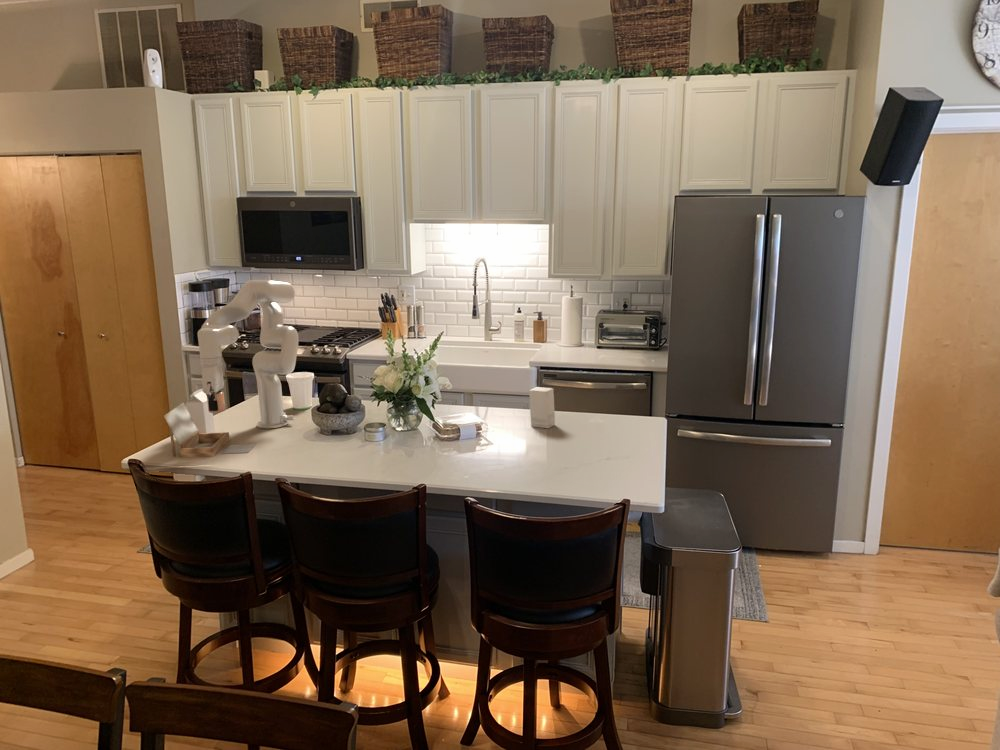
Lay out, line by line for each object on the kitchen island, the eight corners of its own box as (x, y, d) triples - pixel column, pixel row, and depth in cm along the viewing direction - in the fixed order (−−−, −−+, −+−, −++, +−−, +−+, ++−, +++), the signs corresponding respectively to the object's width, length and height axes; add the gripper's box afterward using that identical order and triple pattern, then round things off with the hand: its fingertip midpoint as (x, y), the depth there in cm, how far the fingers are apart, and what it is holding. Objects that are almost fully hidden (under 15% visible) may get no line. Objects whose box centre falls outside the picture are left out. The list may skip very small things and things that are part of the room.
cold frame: (229, 440, 298) (225, 400, 294) (213, 456, 278) (209, 414, 275) (187, 442, 297) (182, 402, 293) (168, 458, 278) (163, 415, 274)
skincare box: (555, 425, 308) (555, 388, 305) (547, 429, 303) (547, 391, 300) (537, 422, 313) (537, 386, 309) (529, 426, 307) (528, 389, 304)
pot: (227, 408, 287) (225, 390, 285) (222, 412, 281) (220, 394, 279) (211, 408, 287) (209, 390, 285) (206, 413, 281) (204, 394, 279)
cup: (315, 410, 341) (312, 377, 338) (286, 411, 340) (284, 378, 337) (317, 403, 353) (315, 371, 350) (290, 404, 352) (287, 372, 349)
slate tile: (255, 445, 291) (255, 444, 291) (248, 453, 281) (248, 452, 281) (228, 446, 290) (228, 445, 290) (221, 454, 280) (220, 453, 280)
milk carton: (215, 433, 308) (210, 388, 304) (206, 438, 301) (201, 392, 297) (198, 433, 309) (193, 388, 305) (190, 438, 302) (184, 392, 298)
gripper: (209, 357, 288) (214, 402, 292) (192, 366, 271) (198, 414, 275) (229, 356, 288) (234, 402, 292) (213, 366, 271) (219, 414, 275)
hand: (216, 407), depth 283 cm, fingers closed on pot, 6 cm apart
